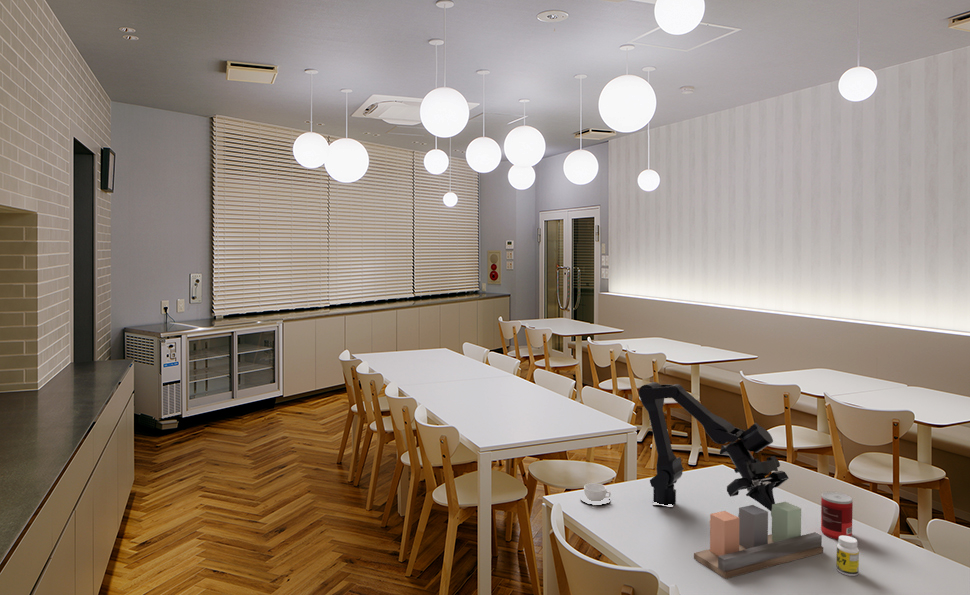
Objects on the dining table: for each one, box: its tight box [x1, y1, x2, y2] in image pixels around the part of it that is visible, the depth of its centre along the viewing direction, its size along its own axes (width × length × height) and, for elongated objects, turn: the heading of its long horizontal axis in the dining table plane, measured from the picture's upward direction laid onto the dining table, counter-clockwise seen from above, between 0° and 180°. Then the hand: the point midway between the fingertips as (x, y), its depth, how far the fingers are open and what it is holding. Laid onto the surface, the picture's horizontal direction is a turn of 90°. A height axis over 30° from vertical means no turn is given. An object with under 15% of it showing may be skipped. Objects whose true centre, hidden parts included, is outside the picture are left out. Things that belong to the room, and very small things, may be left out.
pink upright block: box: [709, 510, 739, 556], centre depth 152 cm, size 6×5×10 cm
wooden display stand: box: [693, 532, 824, 580], centre depth 154 cm, size 11×34×4 cm, turn 112°
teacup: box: [583, 482, 612, 501], centre depth 193 cm, size 10×10×5 cm
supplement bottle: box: [835, 535, 860, 577], centre depth 145 cm, size 5×5×8 cm
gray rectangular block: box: [737, 504, 769, 549], centre depth 156 cm, size 6×5×10 cm
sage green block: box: [770, 501, 802, 542], centre depth 158 cm, size 6×5×10 cm
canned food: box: [820, 491, 854, 540], centre depth 166 cm, size 8×8×11 cm
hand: (774, 511), depth 161 cm, fingers closed, pressing on sage green block
